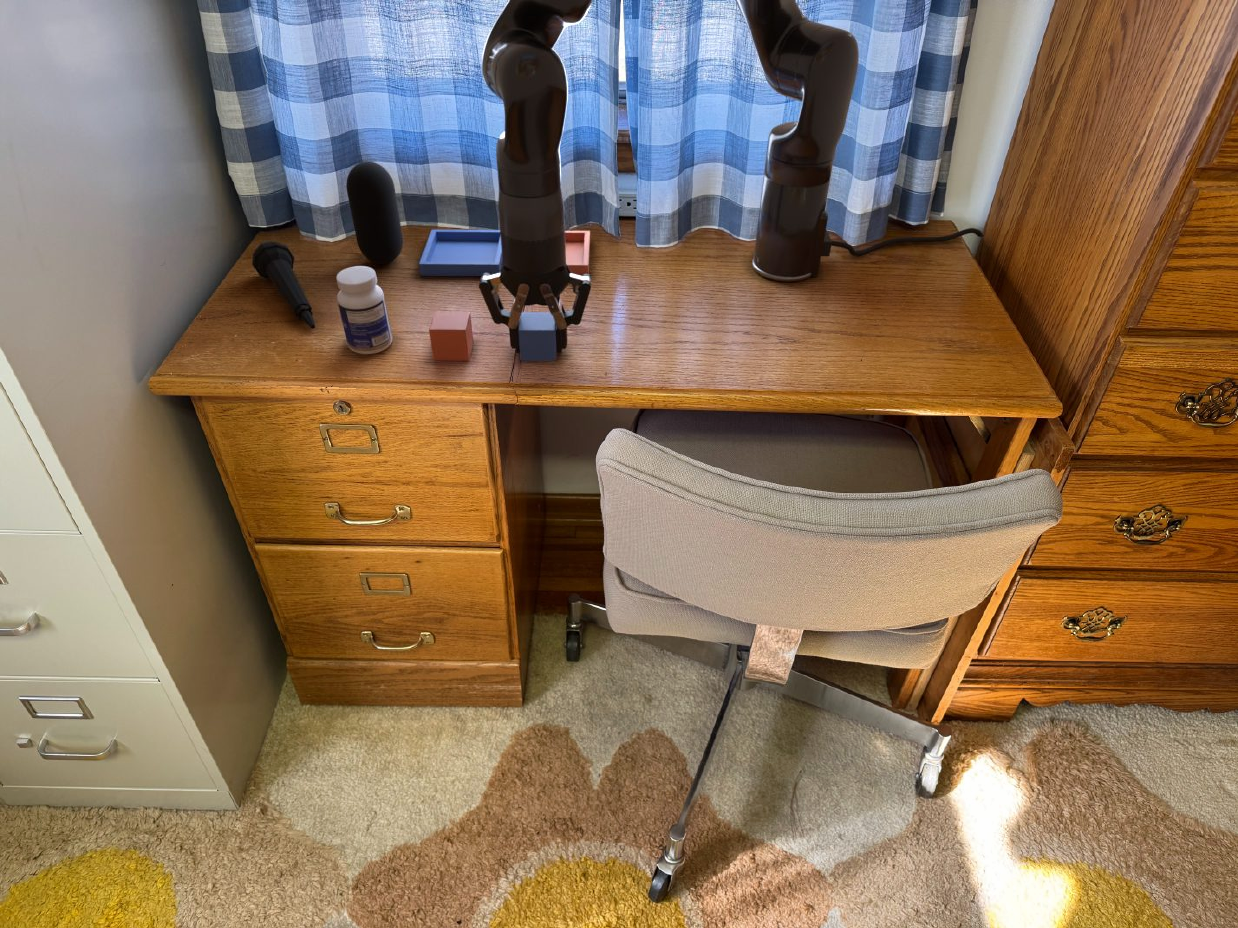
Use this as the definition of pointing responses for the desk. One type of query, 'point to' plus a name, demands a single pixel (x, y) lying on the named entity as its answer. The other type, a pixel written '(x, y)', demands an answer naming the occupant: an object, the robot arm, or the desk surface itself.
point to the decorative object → (374, 212)
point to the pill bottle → (363, 310)
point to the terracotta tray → (577, 251)
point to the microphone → (283, 277)
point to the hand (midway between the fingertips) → (539, 349)
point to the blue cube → (537, 336)
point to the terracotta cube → (451, 335)
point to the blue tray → (462, 253)
